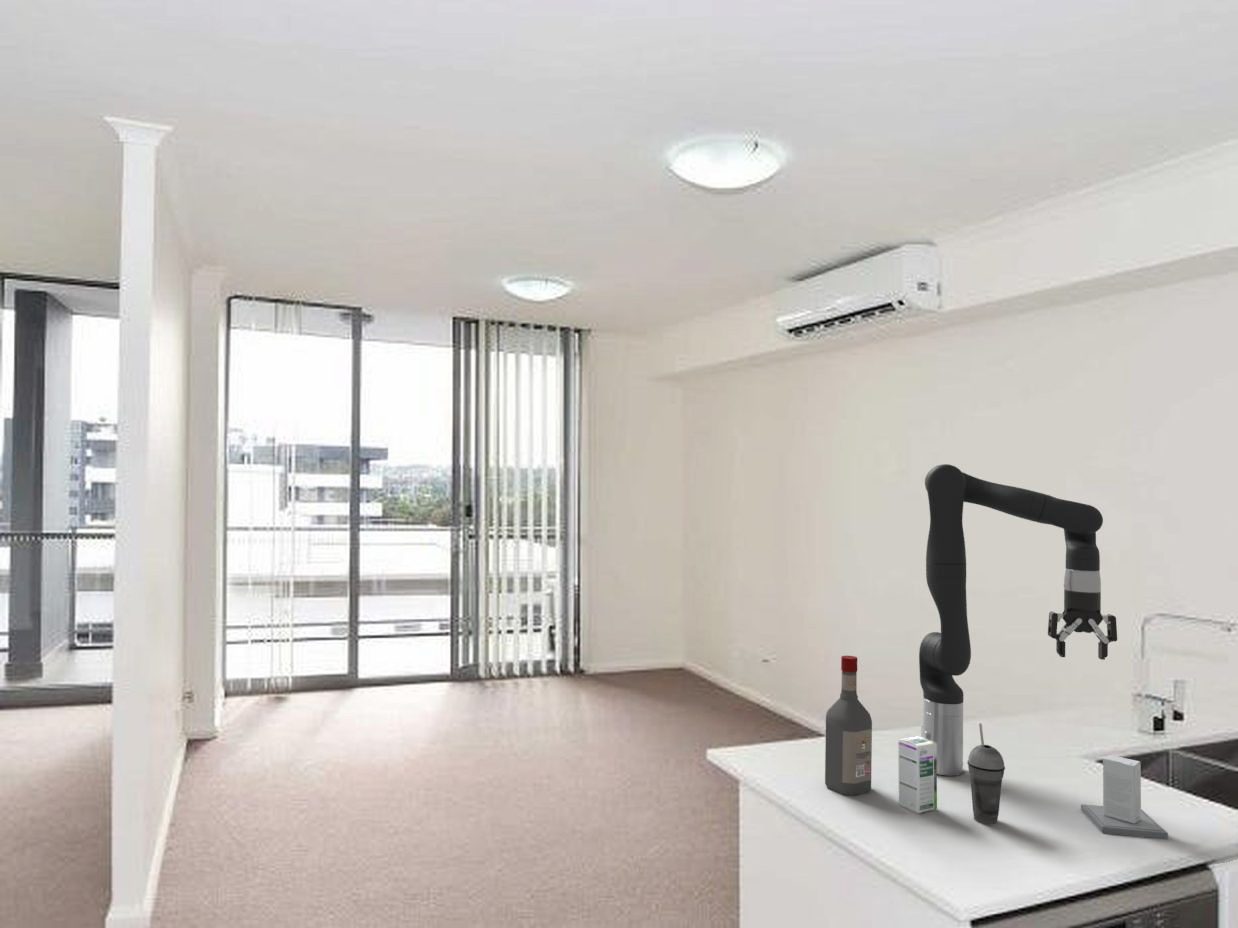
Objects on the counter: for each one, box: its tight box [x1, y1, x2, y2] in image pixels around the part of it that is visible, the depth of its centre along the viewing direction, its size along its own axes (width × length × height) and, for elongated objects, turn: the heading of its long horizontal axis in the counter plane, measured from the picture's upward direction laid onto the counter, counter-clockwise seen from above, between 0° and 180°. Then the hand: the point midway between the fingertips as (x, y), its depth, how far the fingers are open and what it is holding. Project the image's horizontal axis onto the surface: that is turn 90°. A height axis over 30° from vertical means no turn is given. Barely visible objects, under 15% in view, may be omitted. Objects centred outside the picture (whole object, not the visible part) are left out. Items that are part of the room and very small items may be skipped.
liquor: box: [824, 655, 873, 797], centre depth 188 cm, size 9×9×30 cm
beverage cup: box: [966, 722, 1006, 826], centre depth 171 cm, size 7×7×20 cm
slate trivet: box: [1080, 803, 1169, 840], centre depth 171 cm, size 12×12×1 cm
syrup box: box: [897, 735, 938, 814], centre depth 178 cm, size 6×6×14 cm
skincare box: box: [1102, 754, 1142, 824], centre depth 171 cm, size 6×4×12 cm
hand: (1081, 657), depth 192 cm, fingers open, 8 cm apart
